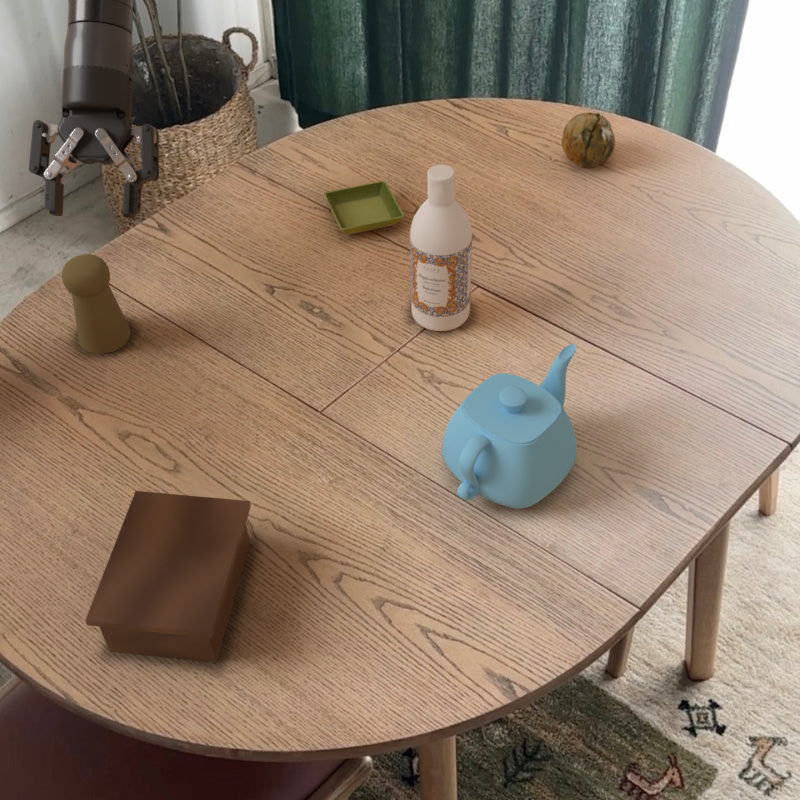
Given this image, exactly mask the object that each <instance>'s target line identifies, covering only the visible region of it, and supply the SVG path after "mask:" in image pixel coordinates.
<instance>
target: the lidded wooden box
mask: <svg viewBox="0 0 800 800" xmlns="http://www.w3.org/2000/svg"><path fill="white" fill-rule="evenodd" d="M251 507H252V505H251V500H244V499H232V498H222V497H209V496H197V495H186V494H174V493H164V492H153V491H143V490H135V491H134V494H133V496H132V498H131V501H130V504H129V507H128V509H127V512H126V514H125V516H124V520H123V522H122V525H121V527H120V530H119V532H118V535H117V538H116V540H115V543H114V545H113V547H112V549H111V552H110V556H109V557H108V558H109V559H108V561H107V563H106V565H105V568H104V571H103V573H102V576H101V579H100V581H99V584H98V587H97V589H96V592H95V595H94V597H93V599H92V601H91V605H90V607H89V610H88V612H87V614H86V618H85V621H84V622H85V623H86V626H90V627H99V630H100V632H101V634H102V637H103V639H104V641H105V643H106V646H107V648H108V651H109V652H114V653H124V654H132V655H133V654H134V655H142V656H152V657H161V658H171V659H180V660H190V661H199V662H208V663H218V659H219V658H220V657H219V656H220V652H221V649H222V645H223V642H224V639H225V636H226V631H227V628H228V624H229V621H230V618H231V613H232V610H233V607H234V603H235V599H236V596H237V592H238V589H239V585H240V581H241V578H242V574H243V571H244V567H245V564H246V560H247V557H248V552H249V550H250V545H251V539H250V535H249V531H248V526H247V521H248V517H249V514H250V511H251Z"/></svg>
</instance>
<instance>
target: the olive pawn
mask: <svg viewBox="0 0 800 800" xmlns="http://www.w3.org/2000/svg"><path fill="white" fill-rule="evenodd" d="M61 280H62V284H63V286H64V288H66V290H67V291H68V292H69V294H71V297H72V304H73V310H74V318H75V323H76V324H75V325H76V330H77V337H78V342H79V346H80V347H81V348H82V349H83V350H84V351H86V352H88V353H90V354H95V355H99V354H100V355H105V354H108V353H112V352H115V351H117V350H120V349H121V348H122V347H124V346H125V345H126V344H127V342H128V341H129V340H130V338H131V334H132V333H131V328H130V326H129V324H128V322H127V319H126V317H125V316H124V313H123V311H122V309H121V307H120V305H119V303H118V301H117V299H116V296H115V295H114V293H113V290H112V288H111V286H110V281H111V273H110V269H109V265H108V264H107V262H105V260H104V259H103V258H101V257H100V256H98V255H96V254H91V253H87V254H84V253H83V254H80V255H79V254H78V255H76V256H74V257H71V258H70V259H69V260H67V261H66V263H65V264H64V265H63V267H62V271H61Z"/></svg>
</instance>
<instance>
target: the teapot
mask: <svg viewBox="0 0 800 800" xmlns="http://www.w3.org/2000/svg"><path fill="white" fill-rule="evenodd" d="M576 351H577V346H576V344H574V343H570V344H568V345H566V346H564V347H563V348H562V349H561V350H560V351H559V352H558V353H557V356H556V357H555V359H554V360H553V362H552V364H551V366H550V368H549V370H548V372H547V373H546V375H545V377H544V379H543V380H542V382H541V383H540V385H539V384H537V383H536V382H533V381H531V380H529V379H527V378H524V377H521V376H519V375H515V374H511V373H506V372H501V373H496V374H495V373H494V374H493V375H491V376H489V377H488V378H486V379H485V380H483V381H482V382H481V383H480V384H478V386H477V387H475V388H474V389H472V391H470V393H469V394H468V395H467V396H466V397H465V399H464V400H463V401H462V402H461V403H460V405H459V406H458V407H457V408H456V410H455V411H454V413H453V415H451V417H450V420H449V421H448V424H447V426H446V427H445V428H446V429H445V431H444V433H443V434H444V435H443V437H442V438H443V439H442V444H441V454H442V455H441V456H442V458H443V461H444V463H445V465H446V466H447V468H448V470H449V471H450V472H451V473H452V474H453V475H454V476H455V477H456V478H457V479H458V480H459V481H460V484H459V486H458V488H457V495H458V497H459V498H460V499H461V500H464V501H471V500H473V499H475V498H476V496H477V495H478V496H479V497H480V498H483V499H485V500H487V501H490V502H491V503H494V504H496V505H500V506H503V507H505V508H510V509H526V508H529V507H531V506H534V505H536V504H537V503H539V502H540V501H542V500H544V499H545V498H546V497H547V496H548V495H550V493H552V492H553V491H554V490H556V488H557V487H559V486H560V484H562V482H563V481H564V480H565V479H566V477H567V476H568V474H569V473H570V471H571V470H572V468H573V467H574V465H575V463H576V460H577V454H578V447H577V437H576V433H575V429H574V426H573V424H572V421H571V419H570V417H569V415H568V413H567V411H566V410H565V408H564V405H565V401H566V393H567V392H566V384H567V383H566V379H567V371H568V367H569V365H570V362H571V361H572V358H573V357H574V354H576Z"/></svg>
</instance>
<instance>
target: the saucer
mask: <svg viewBox="0 0 800 800" xmlns="http://www.w3.org/2000/svg"><path fill="white" fill-rule="evenodd" d="M323 196H324V198H325V201H326V203H327V204H328V207H329V208H330V211H331V213H332V215H333V217H334V220H335V222H336V223H337V226H338V228H339V229H340V231H341V232H343V233H344V234H346V235H355V234H358V233H359V234H360V233H364V232H368V231H372V230H377V229H382V228H383V229H384V228H388V227H392V226H394V225H396V224H398V223H399V222H401V221H402V220H403V219H404V218H405V213H404V211H403V209H402V208H401V206H400V204H399V202H398V200H397V198H396V197H395V195H394V193H393V192H392V189H391V188H390V186H389V184H388V182H387V181H386V180H379V181H374V182H369V183H364V184H360V185H354V186H349V187H344V188H339V189H334V190H329V191H324V193H323Z"/></svg>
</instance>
